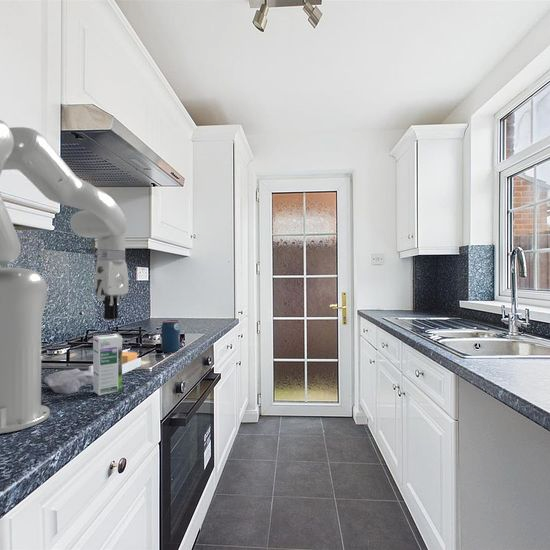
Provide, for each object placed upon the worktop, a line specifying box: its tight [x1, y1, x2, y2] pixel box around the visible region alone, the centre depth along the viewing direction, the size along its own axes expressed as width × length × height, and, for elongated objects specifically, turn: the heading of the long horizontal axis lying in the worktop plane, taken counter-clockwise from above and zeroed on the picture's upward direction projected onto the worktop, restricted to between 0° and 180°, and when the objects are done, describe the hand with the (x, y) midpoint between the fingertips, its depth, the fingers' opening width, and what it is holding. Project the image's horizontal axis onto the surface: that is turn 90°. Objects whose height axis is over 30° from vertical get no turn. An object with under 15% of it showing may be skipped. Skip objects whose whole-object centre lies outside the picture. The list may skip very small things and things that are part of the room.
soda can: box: [160, 319, 181, 354], centre depth 139 cm, size 7×7×12 cm
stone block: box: [43, 368, 93, 395], centre depth 96 cm, size 12×5×10 cm
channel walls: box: [88, 357, 142, 375], centre depth 108 cm, size 13×9×4 cm, turn 168°
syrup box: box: [92, 333, 123, 397], centre depth 92 cm, size 6×6×14 cm
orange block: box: [122, 351, 138, 364], centre depth 113 cm, size 5×5×4 cm
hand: (111, 318), depth 106 cm, fingers closed
